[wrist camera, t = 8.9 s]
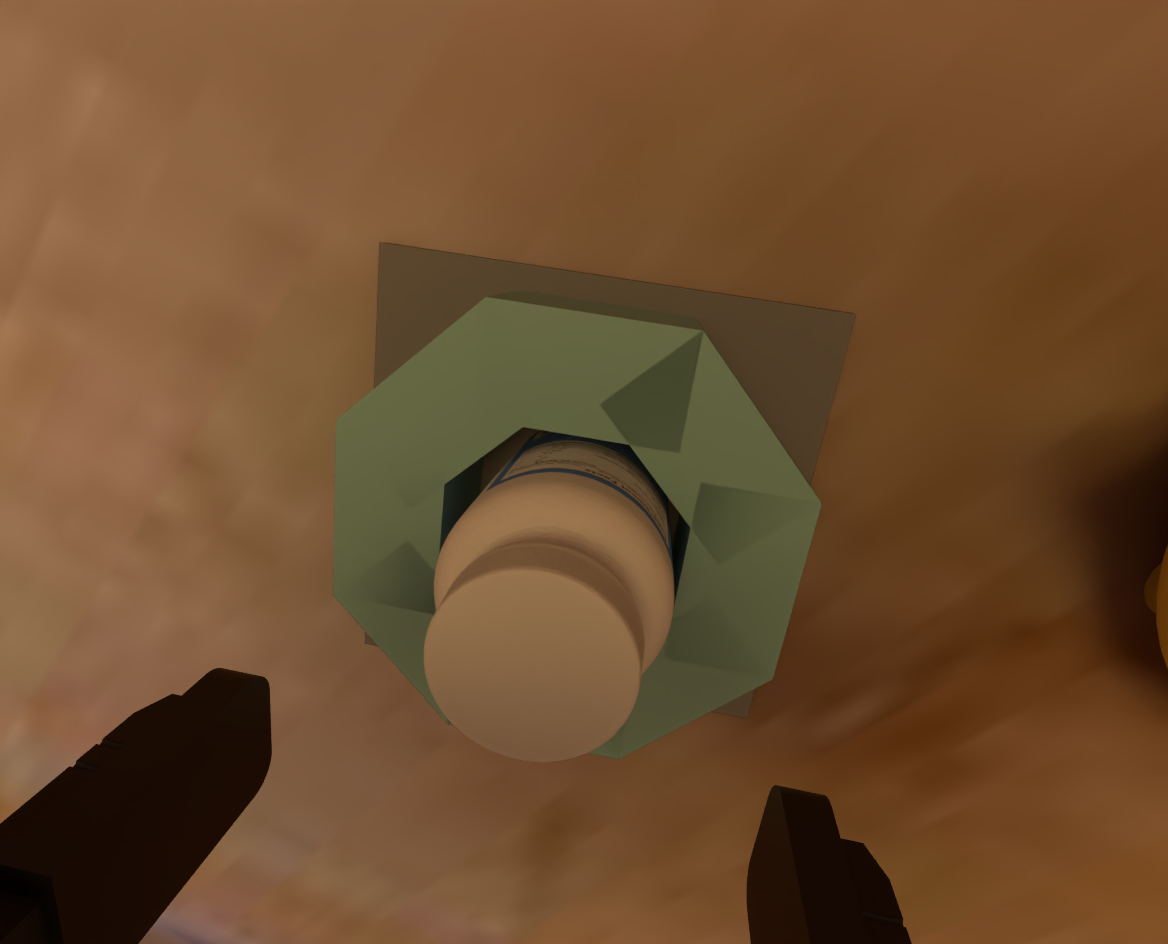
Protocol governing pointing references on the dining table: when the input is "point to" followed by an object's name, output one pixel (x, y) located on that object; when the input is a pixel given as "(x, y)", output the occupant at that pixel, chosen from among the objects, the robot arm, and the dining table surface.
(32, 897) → the robot arm
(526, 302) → the green faceted planter
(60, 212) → the dining table surface
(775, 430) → the felt mat
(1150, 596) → the teapot
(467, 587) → the pill bottle
